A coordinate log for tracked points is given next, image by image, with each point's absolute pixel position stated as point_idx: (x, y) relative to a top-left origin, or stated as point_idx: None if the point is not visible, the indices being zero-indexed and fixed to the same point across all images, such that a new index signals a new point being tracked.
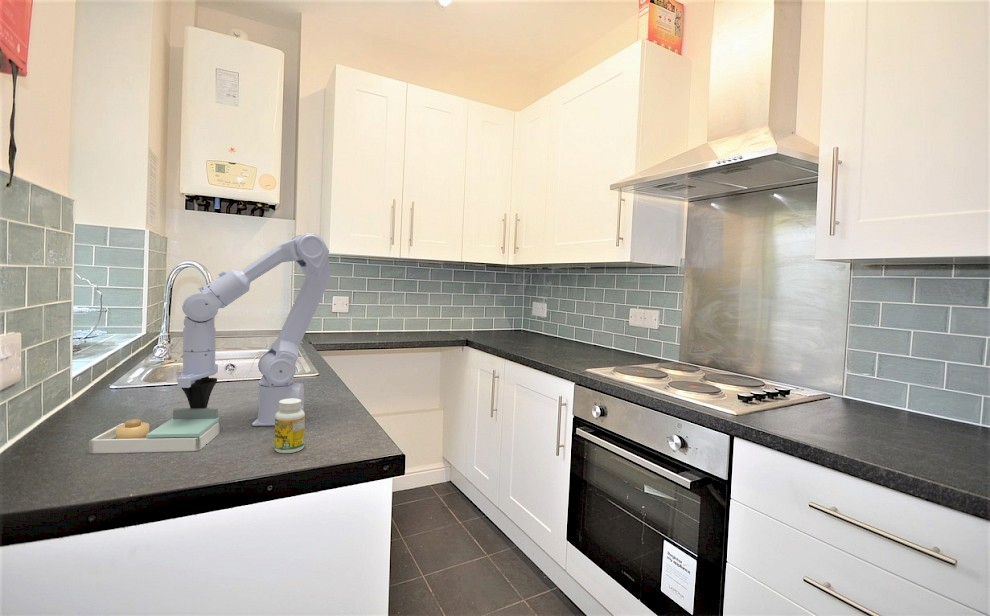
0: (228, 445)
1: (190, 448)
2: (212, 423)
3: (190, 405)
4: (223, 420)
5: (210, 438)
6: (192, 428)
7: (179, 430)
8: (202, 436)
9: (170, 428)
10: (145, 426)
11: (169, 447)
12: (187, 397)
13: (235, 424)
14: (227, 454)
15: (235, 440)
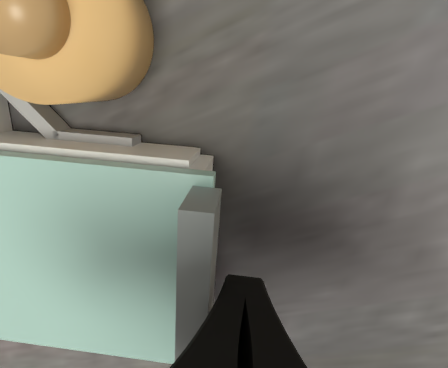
0: (84, 352)
1: None
2: (124, 354)
3: (212, 311)
4: (381, 300)
5: None
6: (43, 306)
7: (12, 267)
8: None
9: (33, 224)
10: (25, 98)
11: None
12: (178, 359)
13: (307, 344)
14: (15, 358)
15: (127, 362)
